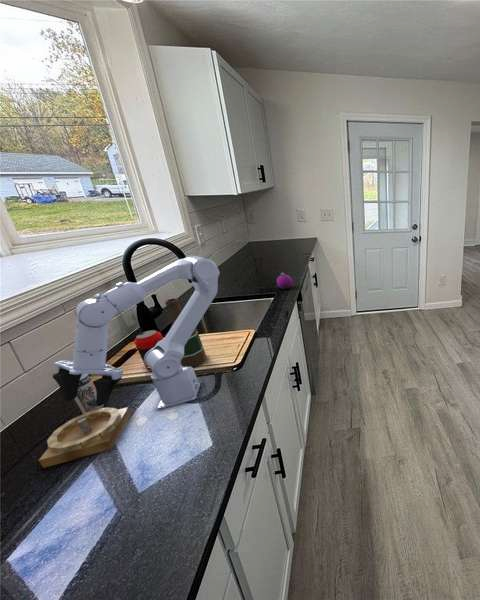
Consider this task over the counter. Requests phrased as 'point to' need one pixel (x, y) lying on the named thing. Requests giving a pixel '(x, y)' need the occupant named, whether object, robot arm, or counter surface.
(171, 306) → the beer bottle
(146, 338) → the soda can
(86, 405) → the small jar
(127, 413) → the stand
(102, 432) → the hoop
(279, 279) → the christmas ornament
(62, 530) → the counter surface
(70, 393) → the robot arm
